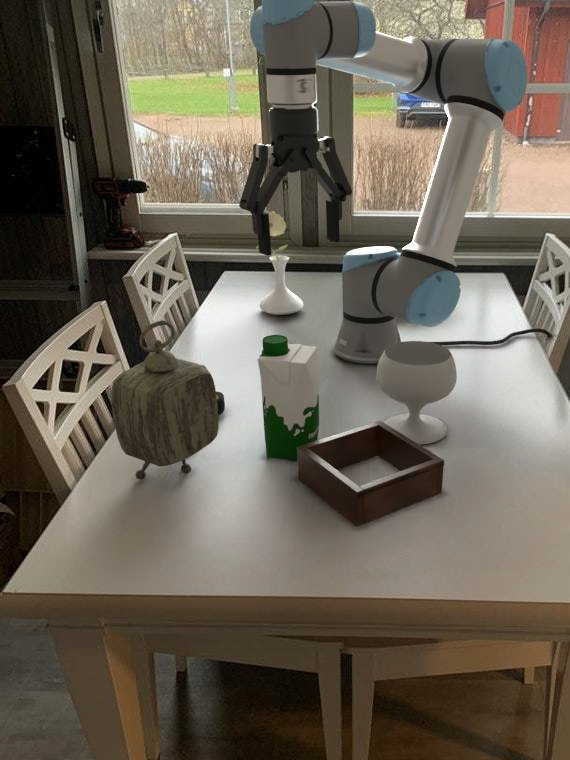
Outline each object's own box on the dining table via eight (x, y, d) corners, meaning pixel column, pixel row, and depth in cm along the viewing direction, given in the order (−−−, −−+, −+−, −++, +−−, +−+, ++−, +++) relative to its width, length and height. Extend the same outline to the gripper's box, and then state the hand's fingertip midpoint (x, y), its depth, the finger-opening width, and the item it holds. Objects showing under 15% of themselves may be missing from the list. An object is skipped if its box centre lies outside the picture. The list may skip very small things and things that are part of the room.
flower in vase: (312, 309, 191) (309, 210, 179) (285, 321, 183) (281, 218, 170) (273, 301, 197) (267, 204, 184) (245, 312, 189) (238, 211, 176)
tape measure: (225, 405, 141) (223, 387, 139) (226, 421, 135) (224, 402, 133) (189, 408, 140) (186, 390, 138) (188, 423, 134) (186, 405, 132)
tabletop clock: (186, 445, 127) (168, 304, 114) (227, 458, 123) (213, 314, 110) (124, 481, 116) (97, 331, 103) (166, 497, 112) (143, 343, 99)
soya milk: (275, 436, 130) (269, 328, 120) (324, 441, 129) (322, 332, 118) (259, 459, 123) (251, 347, 112) (311, 465, 121) (308, 352, 111)
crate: (379, 451, 126) (380, 420, 123) (442, 493, 114) (444, 459, 111) (297, 479, 118) (296, 446, 114) (356, 527, 106) (356, 492, 103)
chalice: (399, 455, 124) (403, 374, 117) (361, 422, 135) (362, 345, 127) (467, 438, 130) (474, 359, 122) (425, 408, 141) (430, 333, 133)
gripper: (232, 113, 102) (246, 264, 114) (372, 102, 115) (372, 239, 126) (207, 109, 108) (223, 254, 119) (344, 99, 120) (347, 231, 131)
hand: (300, 247), depth 123 cm, fingers open, 13 cm apart
